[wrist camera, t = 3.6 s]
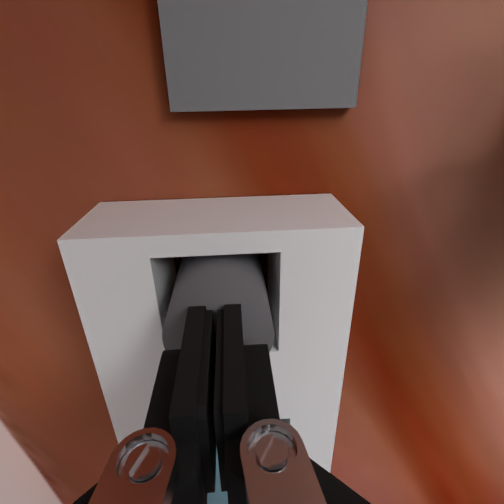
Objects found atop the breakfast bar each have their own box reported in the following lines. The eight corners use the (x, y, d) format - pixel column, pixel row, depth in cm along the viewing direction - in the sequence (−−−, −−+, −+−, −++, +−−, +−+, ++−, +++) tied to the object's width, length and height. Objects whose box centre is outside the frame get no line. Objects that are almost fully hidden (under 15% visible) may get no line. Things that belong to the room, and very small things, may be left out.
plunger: (178, 226, 15) (154, 294, 10) (259, 223, 15) (275, 287, 10) (186, 295, 16) (169, 382, 11) (260, 291, 16) (273, 375, 12)
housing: (99, 202, 14) (57, 240, 11) (330, 193, 15) (364, 226, 11) (154, 444, 21) (140, 516, 18) (309, 432, 22) (326, 500, 18)
